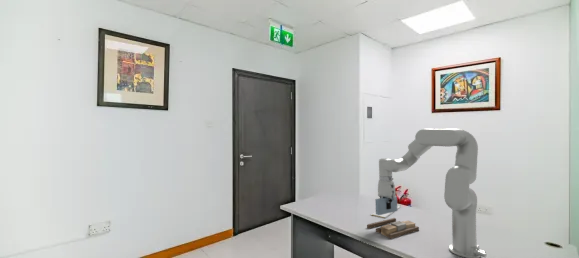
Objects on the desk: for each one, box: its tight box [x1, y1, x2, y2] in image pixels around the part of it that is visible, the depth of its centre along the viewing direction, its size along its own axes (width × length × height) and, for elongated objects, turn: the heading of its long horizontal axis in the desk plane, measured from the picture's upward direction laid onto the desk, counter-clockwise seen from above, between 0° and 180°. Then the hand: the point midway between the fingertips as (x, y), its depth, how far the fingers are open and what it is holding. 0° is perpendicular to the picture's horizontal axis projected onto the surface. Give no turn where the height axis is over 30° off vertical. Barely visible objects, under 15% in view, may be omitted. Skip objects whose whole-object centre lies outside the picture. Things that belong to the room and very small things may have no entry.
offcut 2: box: [390, 220, 406, 232], centre depth 142 cm, size 5×7×5 cm
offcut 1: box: [380, 223, 397, 238], centre depth 139 cm, size 5×7×4 cm
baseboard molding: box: [370, 204, 401, 219], centre depth 179 cm, size 31×3×12 cm
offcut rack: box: [366, 217, 420, 240], centre depth 146 cm, size 18×24×2 cm
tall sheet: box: [374, 195, 398, 215], centre depth 150 cm, size 2×16×9 cm, turn 117°
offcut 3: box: [403, 220, 416, 229], centre depth 146 cm, size 5×7×4 cm
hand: (386, 208), depth 150 cm, fingers closed on tall sheet, 2 cm apart
